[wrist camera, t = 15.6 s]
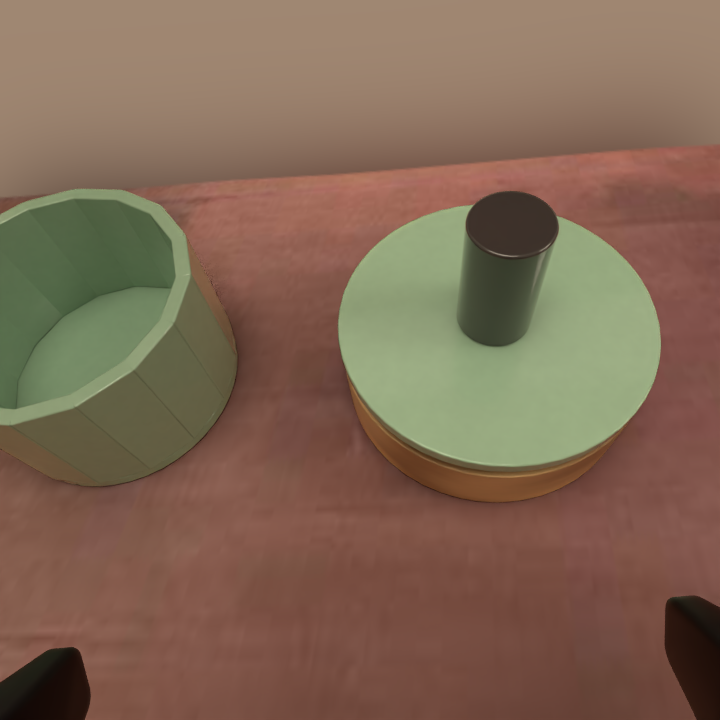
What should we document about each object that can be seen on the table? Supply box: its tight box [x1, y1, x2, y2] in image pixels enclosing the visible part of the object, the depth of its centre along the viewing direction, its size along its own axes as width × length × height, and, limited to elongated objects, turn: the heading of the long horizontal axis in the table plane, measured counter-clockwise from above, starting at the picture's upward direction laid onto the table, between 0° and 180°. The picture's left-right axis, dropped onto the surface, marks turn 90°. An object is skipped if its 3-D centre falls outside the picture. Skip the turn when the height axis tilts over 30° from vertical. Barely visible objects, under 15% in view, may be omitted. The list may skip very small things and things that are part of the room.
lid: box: [338, 191, 661, 472], centre depth 20 cm, size 12×12×6 cm
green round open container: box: [0, 189, 238, 486], centre depth 24 cm, size 11×11×7 cm
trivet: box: [346, 373, 628, 502], centre depth 24 cm, size 12×12×3 cm
